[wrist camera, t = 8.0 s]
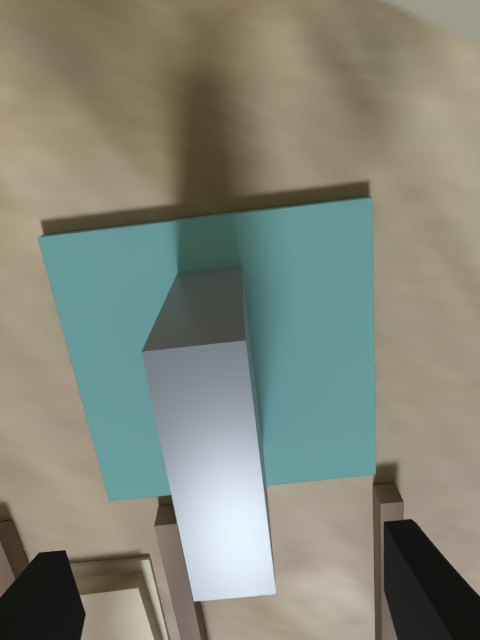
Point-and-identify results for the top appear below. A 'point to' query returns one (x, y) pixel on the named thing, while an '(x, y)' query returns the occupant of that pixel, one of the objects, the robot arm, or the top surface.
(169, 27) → the top surface
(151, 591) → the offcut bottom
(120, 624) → the offcut top
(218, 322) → the block
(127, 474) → the mat
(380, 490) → the rack
